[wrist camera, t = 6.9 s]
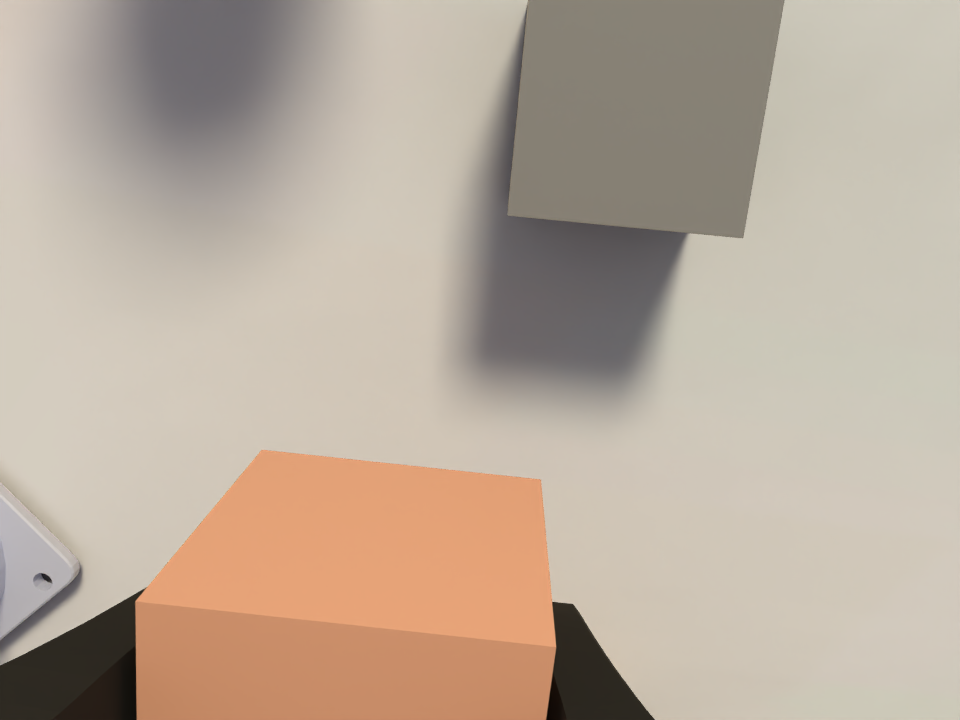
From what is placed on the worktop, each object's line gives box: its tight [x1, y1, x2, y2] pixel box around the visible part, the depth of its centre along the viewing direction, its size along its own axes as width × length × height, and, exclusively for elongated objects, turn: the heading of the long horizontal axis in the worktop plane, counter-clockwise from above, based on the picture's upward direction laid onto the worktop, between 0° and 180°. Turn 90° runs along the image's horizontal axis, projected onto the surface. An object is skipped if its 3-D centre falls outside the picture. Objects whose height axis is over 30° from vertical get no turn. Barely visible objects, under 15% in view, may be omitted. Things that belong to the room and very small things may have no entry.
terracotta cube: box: [135, 450, 556, 720], centre depth 11 cm, size 4×4×4 cm
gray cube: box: [507, 0, 784, 238], centre depth 17 cm, size 4×4×4 cm
